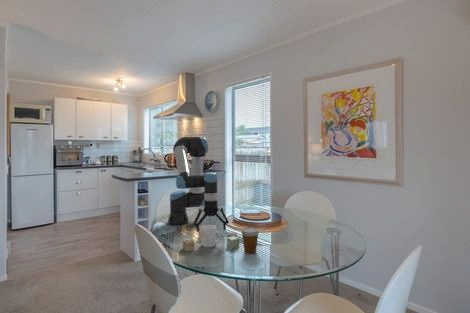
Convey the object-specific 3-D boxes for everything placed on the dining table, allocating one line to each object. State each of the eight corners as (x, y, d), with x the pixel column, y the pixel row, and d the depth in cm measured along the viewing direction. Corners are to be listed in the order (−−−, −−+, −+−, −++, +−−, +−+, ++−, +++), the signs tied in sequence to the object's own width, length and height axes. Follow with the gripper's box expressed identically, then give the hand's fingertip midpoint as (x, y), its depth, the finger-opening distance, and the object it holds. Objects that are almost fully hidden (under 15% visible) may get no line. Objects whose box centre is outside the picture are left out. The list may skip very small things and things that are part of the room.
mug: (216, 249, 150) (216, 230, 149) (198, 246, 155) (198, 228, 154) (224, 244, 158) (223, 226, 157) (206, 241, 163) (206, 223, 162)
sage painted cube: (226, 246, 155) (226, 237, 154) (233, 244, 158) (233, 235, 158) (232, 248, 151) (232, 240, 151) (239, 246, 154) (239, 238, 154)
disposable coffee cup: (253, 256, 140) (253, 233, 140) (238, 252, 145) (238, 230, 145) (262, 250, 149) (261, 228, 148) (246, 246, 154) (246, 226, 153)
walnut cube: (228, 240, 164) (228, 232, 164) (236, 240, 164) (236, 232, 164) (228, 243, 159) (228, 235, 159) (236, 243, 159) (236, 235, 159)
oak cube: (183, 248, 152) (183, 239, 152) (191, 247, 154) (191, 238, 154) (185, 251, 148) (185, 242, 147) (194, 250, 150) (194, 241, 149)
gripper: (188, 202, 149) (189, 240, 150) (233, 200, 153) (233, 236, 154) (188, 199, 156) (189, 235, 157) (231, 197, 161) (231, 232, 162)
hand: (211, 236), depth 156 cm, fingers open, 13 cm apart
